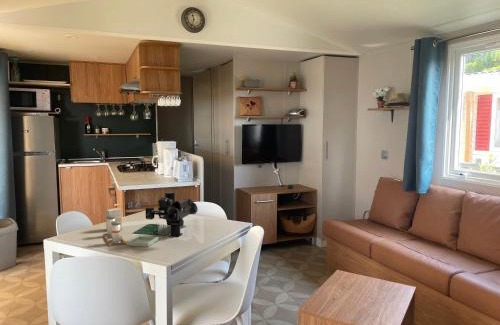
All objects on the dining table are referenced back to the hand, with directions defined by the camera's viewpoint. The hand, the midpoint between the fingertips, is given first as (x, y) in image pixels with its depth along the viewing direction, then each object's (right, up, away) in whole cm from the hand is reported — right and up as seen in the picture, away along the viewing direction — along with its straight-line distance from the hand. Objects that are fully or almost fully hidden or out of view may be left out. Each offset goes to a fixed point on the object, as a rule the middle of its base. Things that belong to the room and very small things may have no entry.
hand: (155, 217), depth 199 cm
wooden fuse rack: (-27, -15, +18) cm, 35 cm away
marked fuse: (-24, -16, +10) cm, 30 cm away
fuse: (-31, -14, +24) cm, 42 cm away
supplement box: (-35, -13, +38) cm, 53 cm away
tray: (-9, -16, +11) cm, 21 cm away
